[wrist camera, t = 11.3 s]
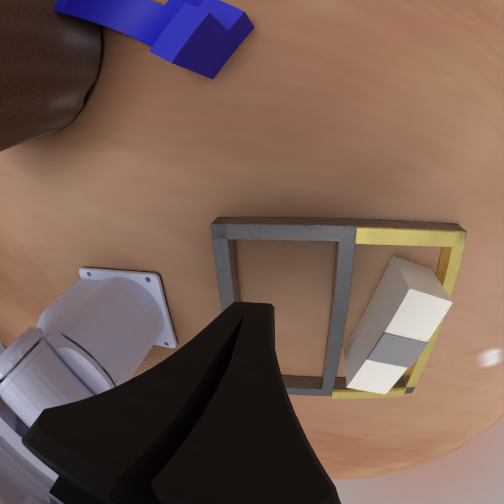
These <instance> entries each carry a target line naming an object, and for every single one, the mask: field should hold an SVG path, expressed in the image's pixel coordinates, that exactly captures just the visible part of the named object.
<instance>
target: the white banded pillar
mask: <svg viewBox="0 0 504 504" xmlns="http://www.w3.org/2000/svg"><path fill="white" fill-rule="evenodd" d="M452 303H453V302H452V300H451V298H450V297H449V295H448V294H447V292H446V291H445V289H444V287H443V286H442V284H441V283H440V281H439V280H438V278H437V277H436V275H435V274H434V272H433V271H432V270H431V269H430V268H427V267H424V266H421V265H418V264H416V263H413V262H410V261H407V260H404V259H401V258H398V257H395V256H392V258H391V260H390V262H389V265H388V267H387V269H386V271H385V273H384V275H383V277H382V279H381V281H380V283H379V285H378V287H377V289H376V291H375V293H374V295H373V297H372V299H371V301H370V303H369V305H368V307H367V309H366V311H365V313H364V314H363V316H362V318H361V320H360V322H359V323H358V325H357V327H356V329H355V331H354V332H353V334H352V336H351V338H350V339H349V341H348V343H347V344H346V346H345V348H344V352H345V369H346V388H351V389H357V390H363V391H368V392H375V393H381V394H387V392H388V391H389V390H390V389H391V388H392V387H393V385H394V384H395V383H396V382H397V381H398V379H399V378H400V377H401V376H402V375H403V373H404V372H405V371H406V370H407V368H410V367H411V366H412V365H413V363H414V362H415V361H416V359H417V358H418V357H419V356H420V354H421V353H422V351H423V350H424V349H425V347H426V346H427V345H428V342H427V341H428V340H429V339H430V337H431V336H432V334H433V333H434V331H435V330H436V328H437V327H438V325H439V324H440V322H441V321H442V319H443V317H444V316H445V314H446V313H447V311H448V309H449V308H450V306H451V304H452Z"/></svg>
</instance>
